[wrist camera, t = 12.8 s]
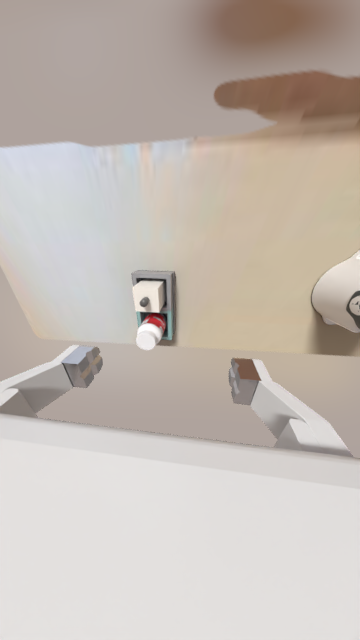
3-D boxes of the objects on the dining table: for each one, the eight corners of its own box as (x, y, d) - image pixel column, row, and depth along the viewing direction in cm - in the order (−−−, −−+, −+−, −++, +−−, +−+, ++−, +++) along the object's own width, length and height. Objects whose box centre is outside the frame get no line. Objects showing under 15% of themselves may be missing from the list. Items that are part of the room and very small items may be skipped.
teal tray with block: (174, 270, 40) (166, 281, 30) (175, 331, 49) (168, 356, 38) (137, 269, 41) (116, 280, 31) (144, 329, 50) (129, 353, 39)
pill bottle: (171, 323, 45) (164, 346, 36) (155, 332, 47) (144, 356, 38) (158, 306, 43) (147, 326, 34) (142, 316, 45) (127, 338, 36)
